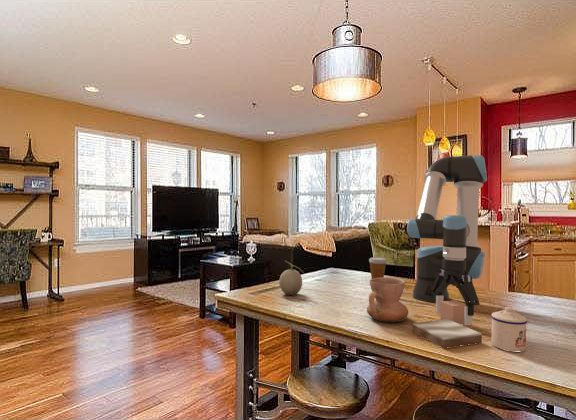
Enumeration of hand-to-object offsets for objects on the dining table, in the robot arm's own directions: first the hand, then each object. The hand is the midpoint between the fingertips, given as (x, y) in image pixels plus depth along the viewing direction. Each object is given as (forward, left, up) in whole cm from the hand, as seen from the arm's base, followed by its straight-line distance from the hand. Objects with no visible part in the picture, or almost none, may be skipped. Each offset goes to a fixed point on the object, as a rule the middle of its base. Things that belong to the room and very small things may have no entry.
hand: (453, 318), depth 126 cm
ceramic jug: (-10, -21, -2) cm, 23 cm away
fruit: (-53, -43, -2) cm, 68 cm away
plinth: (+11, -13, -1) cm, 17 cm away
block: (0, 0, -2) cm, 2 cm away
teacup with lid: (+21, +1, -2) cm, 22 cm away
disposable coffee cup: (-69, +12, -2) cm, 70 cm away
